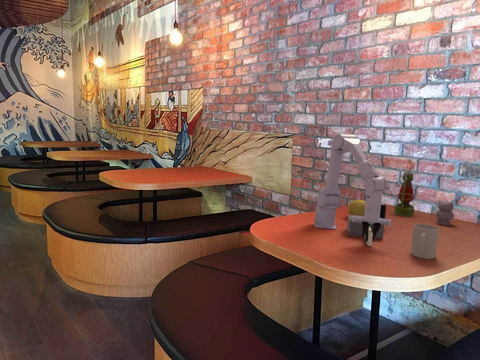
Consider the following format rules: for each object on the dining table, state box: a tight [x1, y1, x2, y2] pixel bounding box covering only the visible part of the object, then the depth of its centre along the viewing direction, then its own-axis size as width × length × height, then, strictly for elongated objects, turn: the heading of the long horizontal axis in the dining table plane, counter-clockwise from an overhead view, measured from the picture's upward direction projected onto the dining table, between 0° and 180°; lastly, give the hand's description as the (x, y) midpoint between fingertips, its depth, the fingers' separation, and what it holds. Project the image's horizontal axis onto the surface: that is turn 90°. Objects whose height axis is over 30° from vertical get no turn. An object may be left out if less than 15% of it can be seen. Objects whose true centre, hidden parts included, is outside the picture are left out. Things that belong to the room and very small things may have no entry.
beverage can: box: [380, 201, 387, 219], centre depth 183 cm, size 7×7×12 cm
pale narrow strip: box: [363, 226, 373, 247], centre depth 159 cm, size 2×12×6 cm, turn 169°
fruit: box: [347, 199, 366, 216], centre depth 201 cm, size 10×11×10 cm
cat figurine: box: [435, 199, 455, 226], centre depth 200 cm, size 8×8×12 cm
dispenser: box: [346, 214, 385, 240], centre depth 171 cm, size 14×11×7 cm
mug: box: [410, 223, 440, 260], centre depth 144 cm, size 12×8×11 cm
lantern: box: [393, 159, 415, 217], centre depth 217 cm, size 14×11×30 cm
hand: (369, 241), depth 155 cm, fingers closed on pale narrow strip
